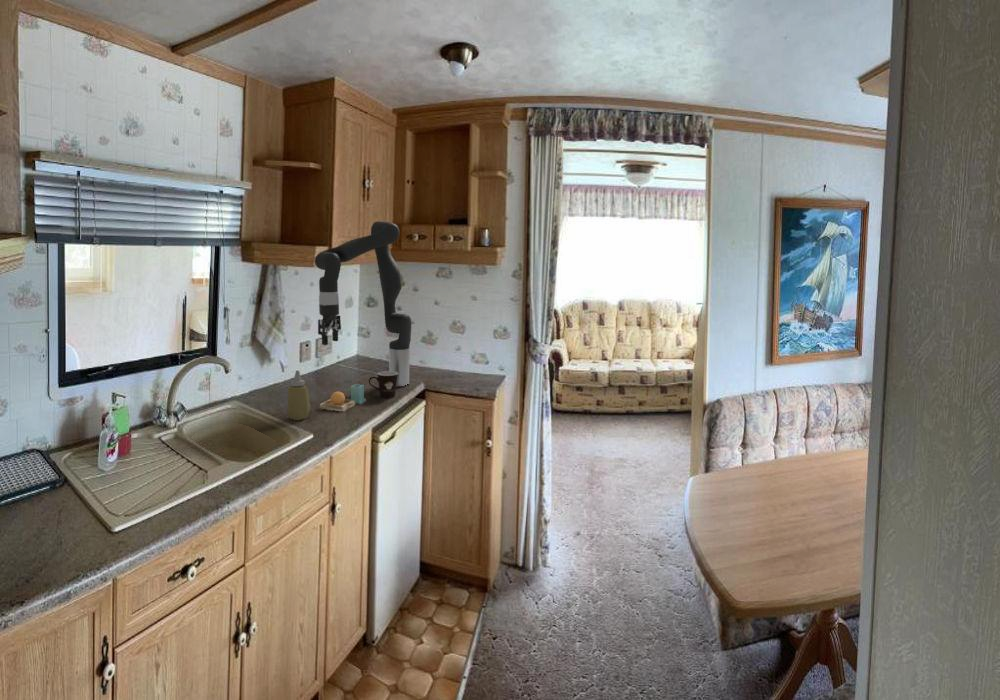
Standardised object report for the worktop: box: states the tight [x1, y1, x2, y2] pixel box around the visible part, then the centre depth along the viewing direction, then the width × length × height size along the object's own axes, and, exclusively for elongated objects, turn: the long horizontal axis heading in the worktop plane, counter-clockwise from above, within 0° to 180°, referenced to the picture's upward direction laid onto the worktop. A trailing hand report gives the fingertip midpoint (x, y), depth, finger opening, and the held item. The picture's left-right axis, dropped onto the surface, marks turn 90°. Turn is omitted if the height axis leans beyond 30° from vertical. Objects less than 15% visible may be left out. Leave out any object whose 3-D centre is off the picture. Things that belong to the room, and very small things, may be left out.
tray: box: [319, 398, 356, 412], centre depth 227 cm, size 10×10×2 cm
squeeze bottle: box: [286, 370, 311, 421], centre depth 210 cm, size 8×8×18 cm
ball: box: [330, 391, 346, 405], centre depth 227 cm, size 6×6×6 cm
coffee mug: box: [368, 370, 398, 399], centre depth 245 cm, size 12×9×10 cm
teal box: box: [350, 383, 367, 405], centre depth 234 cm, size 5×5×7 cm
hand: (330, 342), depth 230 cm, fingers open, 8 cm apart
